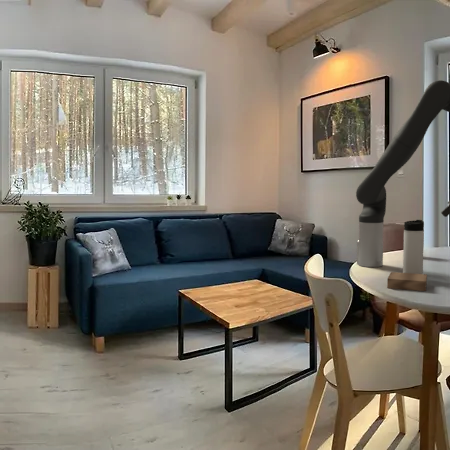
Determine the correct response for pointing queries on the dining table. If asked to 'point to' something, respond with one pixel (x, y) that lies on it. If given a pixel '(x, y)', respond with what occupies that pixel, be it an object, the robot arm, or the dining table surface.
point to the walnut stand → (407, 281)
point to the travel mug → (413, 247)
